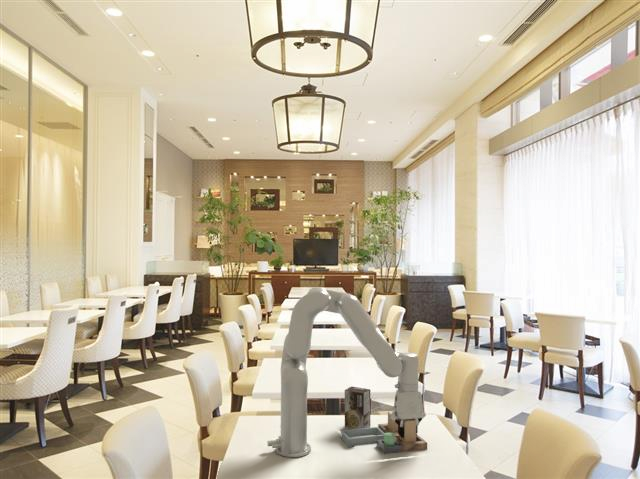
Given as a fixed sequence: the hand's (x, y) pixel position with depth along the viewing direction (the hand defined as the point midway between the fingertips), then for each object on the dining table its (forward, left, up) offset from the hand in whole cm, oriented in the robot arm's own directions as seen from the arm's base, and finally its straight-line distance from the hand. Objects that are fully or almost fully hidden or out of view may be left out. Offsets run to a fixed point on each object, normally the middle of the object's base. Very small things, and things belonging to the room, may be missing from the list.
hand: (407, 435), depth 182 cm
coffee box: (-12, +21, -4) cm, 25 cm away
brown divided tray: (0, +5, -4) cm, 7 cm away
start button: (-8, -2, -3) cm, 9 cm away
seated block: (0, +11, -3) cm, 11 cm away
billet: (0, 0, -2) cm, 2 cm away
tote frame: (-14, +9, -4) cm, 17 cm away
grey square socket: (-8, -2, -4) cm, 10 cm away
